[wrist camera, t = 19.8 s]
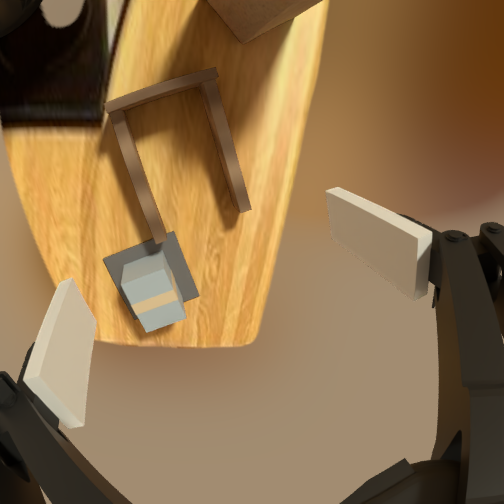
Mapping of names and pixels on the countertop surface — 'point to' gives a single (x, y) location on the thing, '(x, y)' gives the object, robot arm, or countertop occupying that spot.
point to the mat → (145, 249)
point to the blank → (153, 292)
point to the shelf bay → (219, 131)
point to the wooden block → (258, 14)
